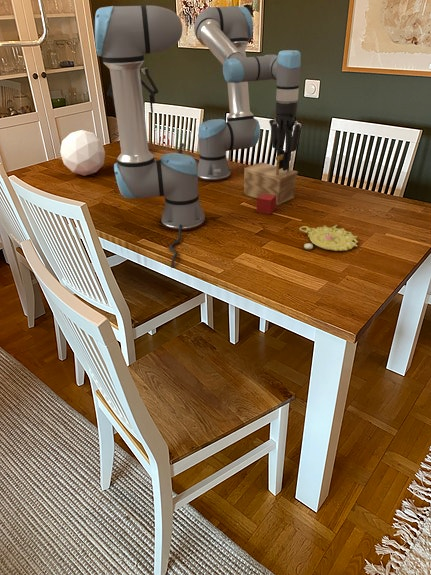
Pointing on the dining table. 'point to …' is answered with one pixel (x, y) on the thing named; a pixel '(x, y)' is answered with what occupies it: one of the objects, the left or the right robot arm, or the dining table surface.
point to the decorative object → (330, 238)
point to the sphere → (82, 152)
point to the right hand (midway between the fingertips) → (283, 168)
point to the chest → (269, 187)
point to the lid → (271, 170)
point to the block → (266, 203)
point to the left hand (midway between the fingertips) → (135, 113)
